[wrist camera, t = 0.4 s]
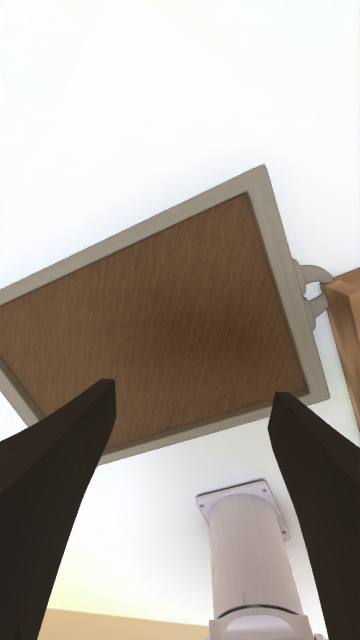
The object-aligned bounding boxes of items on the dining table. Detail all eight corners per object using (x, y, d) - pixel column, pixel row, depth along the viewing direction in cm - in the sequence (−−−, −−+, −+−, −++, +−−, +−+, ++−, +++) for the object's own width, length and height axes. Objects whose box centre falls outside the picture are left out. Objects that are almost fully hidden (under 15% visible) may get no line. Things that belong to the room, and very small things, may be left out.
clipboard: (-59, 317, 21) (308, 140, 15) (-42, 311, 22) (298, 149, 17) (64, 476, 26) (364, 390, 21) (71, 462, 28) (353, 379, 22)
